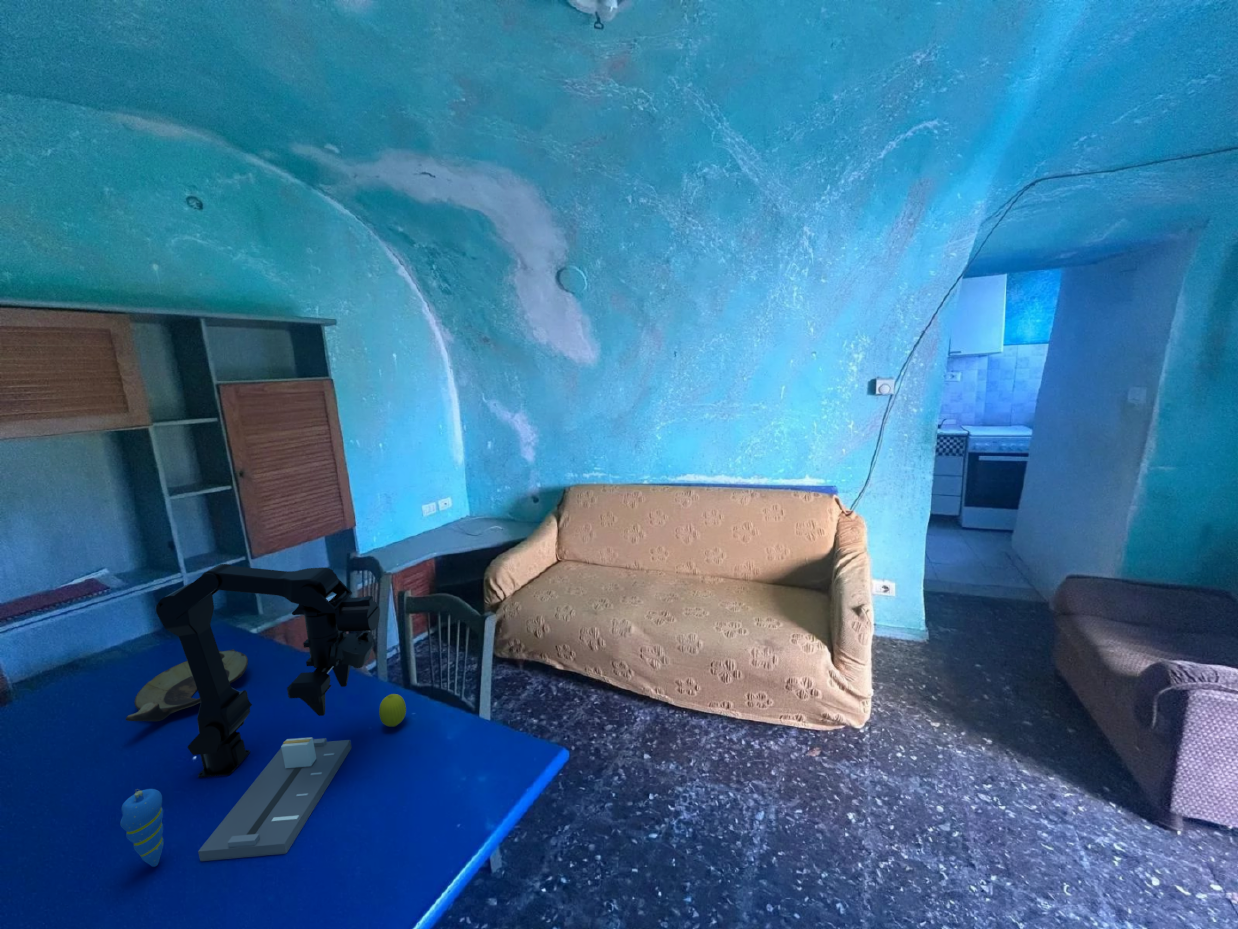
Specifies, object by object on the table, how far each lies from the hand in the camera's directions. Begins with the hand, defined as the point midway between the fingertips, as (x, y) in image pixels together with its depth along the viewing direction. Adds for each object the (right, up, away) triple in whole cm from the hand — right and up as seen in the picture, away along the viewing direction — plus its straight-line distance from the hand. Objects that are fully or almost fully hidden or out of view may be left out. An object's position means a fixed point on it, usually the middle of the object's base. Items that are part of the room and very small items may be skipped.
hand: (333, 700), depth 104 cm
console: (-5, -15, -8) cm, 18 cm away
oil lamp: (-51, -11, +23) cm, 57 cm away
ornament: (-18, -18, -20) cm, 33 cm away
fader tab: (-5, -12, -3) cm, 13 cm away
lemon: (+8, -11, +11) cm, 17 cm away
